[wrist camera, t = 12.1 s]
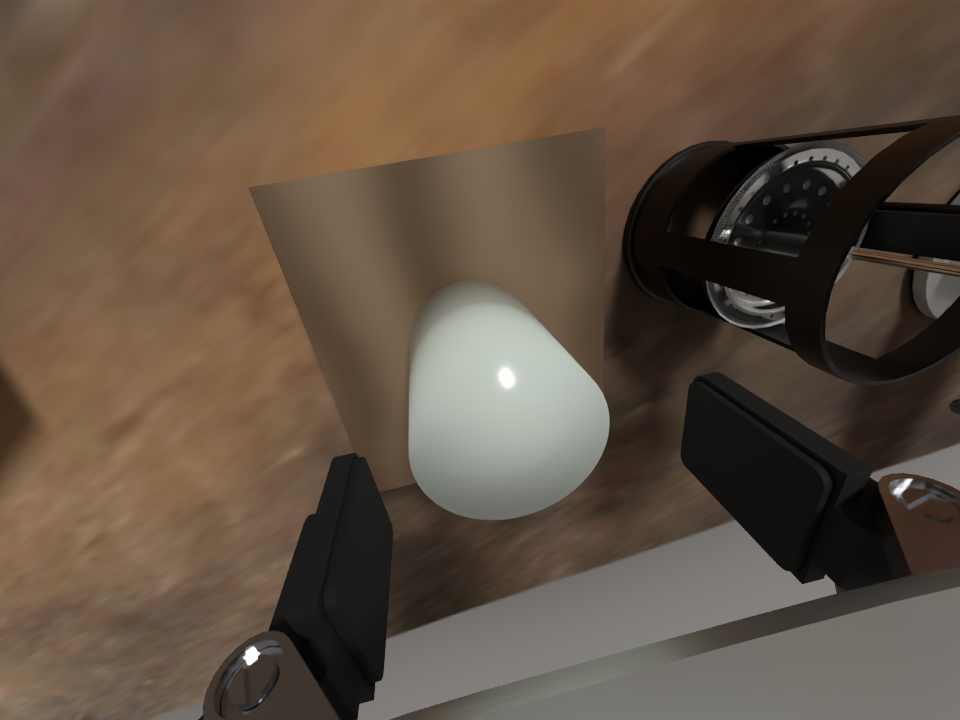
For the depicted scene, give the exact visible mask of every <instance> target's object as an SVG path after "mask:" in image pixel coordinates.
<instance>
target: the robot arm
mask: <svg viewBox="0 0 960 720" xmlns="http://www.w3.org/2000/svg"><path fill="white" fill-rule="evenodd" d="M950 205H960V193H959V194H958V195H957V196H956V198H955V199H954V200H953V201H952V202H951V203H950ZM918 259H920V260H927V261H934V262H940V263H947V264H954V265H960V262H959V261H952V260H945V259H937V258H930V257H923V256H919V257H918ZM912 290H913V297H914V301H915V303H916V305H917V307H918V309H919V310H920V311H921V312H922V313H923V314H924V315H926V316H928V317H930V318H933V319H938V318H939V317H940V316H941V315H942V314H943V313H944V312H945V311H946V310H947V309H948V308H949V307H950V306H951V305H952V304H953V303H954V301H955V300H956V299H957V298H958V297H959V296H960V277H954V276H949V275H943V274H937V273H931V272H925V271H919V270H914V274H913V284H912ZM681 459H682V462H683V464H684V465H685V466H686V468H687V469H688V470H689V471H690V472H691V473H692V474H693V475H694V476H695V477H696V478H697V479H698V480H699V481H700V482H701V484H702V485H703V486H704V487H705V488H706V489H707V490H708V491H709V492H710V493H711V494H712V495H713V496H714V497H715V498H716V499H717V500H718V502H719V503H720V504H721V505H722V506H723V507H724V508H725V509H726V510H727V511H728V512H729V513H730V514H731V515H732V516H733V517H734V519H735V520H736V521H737V522H738V523H739V524H740V525H741V526H742V527H743V528H744V529H745V530H746V531H747V532H748V533H749V534H750V535H751V537H752V538H754V540H755V541H756V542H757V543H758V544H759V545H760V546H761V547H762V548H763V549H764V550H765V551H766V552H767V553H768V555H769V556H770V557H772V559H773V560H774V561H775V562H776V563H777V564H778V565H779V566H780V567H781V568H783V569H784V570H786V571H790V572H791V573H792V574H793V575H794V576H795V577H796V578H797V579H798V580H799V581H800V582H801V583H802V584H805V583H808V582H812V581H816V580H820V579H823V578H824V576H825V574H826V575H827V576H828V577H829V578H830V579H831V580H832V581H833V582H834V583H835V587H836V591H837V594H834V595H830V596H827V597H823V598H819V599H815V600H812V601H808V602H804V603H800V604H797V605H793V606H790V607H786V608H782V609H778V610H774V611H771V612H767V613H763V614H759V615H756V616H752V617H748V618H745V619H741V620H737V621H733V622H730V623H726V624H722V625H719V626H715V627H711V628H708V629H704V630H700V631H697V632H693V633H689V634H686V635H682V636H678V637H675V638H671V639H667V640H664V641H660V642H656V643H653V644H649V645H646V646H642V647H638V648H635V649H631V650H627V651H624V652H620V653H616V654H613V655H609V656H605V657H602V658H598V659H595V660H591V661H588V662H584V663H581V664H577V665H573V666H570V667H566V668H562V669H559V670H555V671H552V672H549V673H545V674H541V675H537V676H534V677H530V678H527V679H523V680H520V681H517V682H512V683H509V684H506V685H502V686H498V687H495V688H491V689H488V690H484V691H481V692H477V693H474V694H471V695H467V696H464V697H461V698H457V699H454V700H451V701H447V702H445V703H441V704H437V705H434V706H431V707H428V708H424V709H421V710H418V711H415V712H411V713H408V714H405V715H402V716H400V717H397V718H394V719H391V720H960V491H959V490H957V489H955V488H953V487H951V486H949V485H947V484H944V483H942V482H939V481H936V480H934V479H930V478H926V477H923V476H919V475H913V474H905V473H898V474H889V475H886V476H883V477H882V478H881V479H880V481H879V482H876V481H874V480H873V479H872V478H870V475H871V473H872V471H873V469H872V468H871V467H869V466H868V465H866V464H864V463H863V462H861V461H860V460H858V459H856V458H855V457H853V456H852V455H850V454H848V453H847V452H845V451H844V450H842V449H841V448H839V447H837V446H836V445H834V444H833V443H831V442H829V441H828V440H826V439H825V438H823V437H821V436H820V435H818V434H817V433H815V432H814V431H812V430H810V429H809V428H807V427H806V426H804V425H802V424H801V423H799V422H798V421H796V420H794V419H793V418H791V417H790V416H788V415H787V414H785V413H783V412H782V411H780V410H779V409H777V408H775V407H774V406H772V405H771V404H769V403H767V402H766V401H764V400H763V399H761V398H760V397H758V396H756V395H755V394H753V393H752V392H750V391H748V390H747V389H745V388H744V387H742V386H741V385H739V384H737V383H736V382H734V381H733V380H731V379H729V378H728V377H726V376H725V375H723V374H721V373H719V372H715V373H710V374H706V375H701V376H697V377H695V379H694V381H693V383H691V384H690V385H689V390H688V398H687V406H686V414H685V422H684V430H683V438H682V446H681ZM392 542H393V530H392V524H391V521H390V519H389V516H388V514H387V511H386V509H385V506H384V503H383V501H382V498H381V496H380V493H379V491H378V488H377V486H376V483H375V480H374V478H373V475H372V473H371V470H370V468H369V465H368V463H367V460H366V458H365V457H358V455H357V454H356V453H352V454H347V455H343V456H338V457H334V458H333V460H332V462H331V465H330V469H329V472H328V475H327V478H326V482H325V485H324V488H323V492H322V495H321V498H320V501H319V505H318V508H317V511H316V514H312V515H309V516H308V517H307V518H306V520H305V523H304V525H303V528H302V531H301V534H300V537H299V540H298V543H297V546H296V549H295V552H294V555H293V558H292V561H291V564H290V567H289V570H288V573H287V577H286V580H285V583H284V586H283V589H282V592H281V595H280V598H279V601H278V604H277V607H276V610H275V613H274V616H273V619H272V622H271V625H270V628H269V631H268V632H262V633H260V634H258V635H256V636H254V637H251V638H249V639H248V640H247V641H245V642H244V643H243V644H241V645H240V646H239V647H237V648H236V649H235V650H234V651H233V652H232V653H231V654H230V655H229V656H228V657H227V658H226V659H225V660H224V662H223V663H222V665H221V666H220V667H219V669H218V670H217V672H216V673H215V675H214V676H213V678H212V680H211V683H210V685H209V687H208V689H207V691H206V695H205V699H204V704H203V716H202V717H201V718H200V719H199V720H357V719H358V710H359V704H360V703H364V702H368V701H372V700H374V692H375V682H377V681H380V680H382V677H383V671H384V659H385V645H386V630H387V615H388V601H389V586H390V571H391V556H392Z"/></svg>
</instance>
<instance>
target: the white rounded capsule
mask: <svg viewBox="0 0 960 720" xmlns="http://www.w3.org/2000/svg"><path fill="white" fill-rule="evenodd" d="M609 425H610V422H609V411H608V406H607V403H606V400H605V398H604V395H603V393H602V391H601V390H600V388H599V387H598V385H597V384H596V383H595V381H594V380H593V379H592V378H591V377H590V376H589V375H588V374H587V373H586V371H585V370H584V369H583V368H582V367H581V366H580V365H579V364H578V363H577V362H576V361H575V360H574V358H573V357H572V356H571V355H570V354H569V353H568V352H567V351H566V350H565V349H564V348H563V347H562V345H561V344H560V343H559V342H558V341H557V340H556V339H555V338H554V337H553V336H552V335H551V334H550V333H549V331H548V330H547V329H546V328H545V327H544V326H543V325H542V324H541V323H540V322H539V321H538V320H537V318H536V317H535V316H534V315H533V314H532V313H531V312H530V311H529V310H528V309H527V308H526V307H525V305H524V304H523V303H522V302H521V301H520V300H519V299H518V298H517V297H516V296H515V295H514V294H513V293H512V292H510V291H509V290H507V289H506V288H504V287H503V286H500V285H498V284H496V283H492V282H489V281H484V280H464V281H459V282H455V283H452V284H450V285H447V286H445V287H443V288H441V289H439V290H438V291H436V292H435V293H434V294H432V295H431V296H430V297H429V298H428V299H427V300H426V301H425V302H424V303H423V304H422V306H421V307H420V308H419V310H418V312H417V313H416V315H415V317H414V320H413V322H412V326H411V329H410V337H409V446H408V448H409V462H410V467H411V470H412V473H413V476H414V478H415V480H416V482H417V483H418V485H419V487H420V488H421V490H422V491H423V492H424V493H425V494H426V495H427V496H428V497H429V498H430V499H431V500H432V501H433V502H435V503H436V504H437V505H439V506H441V507H442V508H444V509H446V510H448V511H450V512H452V513H454V514H457V515H460V516H464V517H468V518H473V519H480V520H504V519H512V518H517V517H522V516H525V515H529V514H532V513H535V512H537V511H540V510H542V509H545V508H547V507H549V506H551V505H553V504H555V503H556V502H558V501H560V500H561V499H563V498H564V497H566V496H567V495H568V494H570V493H571V492H572V491H574V490H575V489H576V488H577V487H578V486H579V485H580V484H581V483H582V482H583V481H584V480H585V479H586V478H587V477H588V476H589V475H590V473H591V472H592V471H593V469H594V468H595V466H596V465H597V463H598V461H599V460H600V458H601V456H602V454H603V451H604V449H605V446H606V443H607V439H608V435H609Z"/></svg>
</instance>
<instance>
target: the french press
mask: <svg viewBox="0 0 960 720" xmlns="http://www.w3.org/2000/svg"><path fill="white" fill-rule="evenodd" d="M908 131H912V132H910V133H908V134H906V135H904V136H902V137H901V138H899V139H898V140H896V141H895V142H894V143H892V144H891V145H889V146H888V147H887V148H885V149H884V150H882V151H881V152H879V153H878V154H877V155H875V156H874V157H873V158H872V159H871V160H870V161H869V162H868V163H867V164H866V163H865V161H864V160H863V159H862V157H861V156H860V155H859V153H858V152H857V151H856V150H854V149H853V148H851V147H850V146H848V145H847V144H845V143H841V142H837V141H834V140H830V139H840V138H850V137H859V136H869V135H879V134H889V133H899V132H908ZM958 137H960V115H958V116H949V117H941V118H933V119H925V120H917V121H908V122H900V123H892V124H884V125H876V126H867V127H859V128H851V129H843V130H835V131H826V132H818V133H810V134H802V135H794V136H785V137H777V138H769V139H761V140H753V141H744V142H736V143H732V142H728V141H707V142H703V143H700V144H696V145H692V146H690V147H688V148H686V149H684V150H682V151H680V152H678V153H676V154H675V155H673V156H672V157H671V158H670V159H668V160H667V161H666V162H664V163H663V164H662V165H661V166H660V167H659V168H658V169H657V170H656V171H655V172H654V173H653V174H652V175H651V176H650V177H649V179H648V180H647V181H646V183H645V184H644V186H643V187H642V189H641V190H640V192H639V193H638V195H637V197H636V200H635V202H634V204H633V206H632V208H631V210H630V214H629V217H628V220H627V224H626V229H625V236H624V256H625V260H626V264H627V268H628V271H629V273H630V275H631V277H632V279H633V281H634V282H635V283H636V285H637V286H638V287H639V288H640V289H641V291H643V292H644V293H646V294H647V295H649V296H650V297H652V298H654V299H657V300H659V301H662V302H665V303H674V304H676V305H678V306H680V307H683V308H685V309H687V310H690V311H693V312H695V313H701V314H709V315H711V316H714V317H716V318H718V319H721V320H723V321H725V322H727V323H730V324H732V325H734V326H737V327H739V328H741V329H744V330H746V331H748V332H750V333H753V334H755V335H757V336H760V337H762V338H764V339H767V340H769V341H771V342H773V343H776V344H778V345H780V346H783V347H785V348H787V349H790V350H792V351H794V352H796V353H797V355H798V356H799V357H800V358H802V359H803V360H804V361H805V362H807V363H808V364H809V365H811V366H814V367H816V368H818V369H820V370H823V371H825V372H827V373H829V374H831V375H834V376H836V377H838V378H840V379H842V380H845V381H848V382H851V383H853V384H856V385H864V386H879V385H886V384H893V383H896V382H899V381H902V380H905V379H908V378H911V377H914V376H916V375H918V374H920V373H922V372H925V371H927V370H929V369H931V368H933V367H935V366H936V365H938V364H940V363H941V362H943V361H945V360H946V359H948V358H949V357H951V356H953V355H954V354H956V353H957V352H958V351H960V296H959V297H958V298H957V299H956V300H955V301H954V303H953V304H952V305H951V306H950V307H949V308H948V309H947V310H946V311H945V312H944V313H943V314H942V315H941V316H940V317H939V318H938V319H936V320H935V321H934V322H933V323H932V324H931V325H930V326H928V327H927V328H926V329H925V330H923V331H922V332H921V333H920V334H918V335H917V336H916V337H914V338H913V339H911V340H910V341H908V342H907V343H905V344H904V345H902V346H900V347H899V348H897V349H896V350H894V351H892V352H890V353H888V354H885V355H883V356H881V357H879V358H877V359H874V358H872V357H869V356H866V355H864V354H861V353H858V352H856V351H853V350H850V349H848V348H845V347H842V346H840V345H837V344H834V343H832V342H829V341H826V340H825V320H826V312H827V308H828V303H829V299H830V295H831V291H832V289H833V286H834V284H835V283H836V282H837V281H838V280H839V278H840V277H841V276H842V274H843V273H844V272H845V270H846V269H847V267H848V266H849V265H850V263H851V261H852V259H855V260H861V261H867V262H872V263H878V264H884V265H890V266H896V267H902V268H908V269H913V270H919V271H925V272H931V273H937V274H943V275H949V276H954V277H960V265H954V264H947V263H940V262H934V261H927V260H920V259H914V258H907V257H900V256H894V255H887V254H880V253H873V252H867V251H860V250H858V249H859V247H860V248H867V249H874V250H881V251H888V252H895V253H902V254H909V255H916V256H923V257H930V258H937V259H945V260H952V261H959V262H960V205H949V204H924V203H899V202H884V201H885V200H886V199H887V198H888V197H889V196H890V195H891V194H892V192H893V191H894V190H895V189H896V188H897V187H898V186H899V185H900V184H901V182H902V181H904V180H905V179H906V178H907V177H908V176H909V175H910V174H911V173H913V172H914V171H915V170H916V169H917V168H918V167H919V166H920V165H922V164H923V163H924V162H925V161H926V160H927V159H928V158H929V157H931V156H932V155H934V154H935V153H937V152H938V151H939V150H941V149H942V148H944V147H945V146H947V145H948V144H950V143H951V142H952V141H954V140H955V139H957V138H958ZM801 142H806V143H802V144H799V145H796V146H794V147H791V148H789V147H788V146H786V145H784V144H791V143H801ZM714 166H716V167H721V168H725V169H727V170H729V171H731V172H732V173H734V174H735V175H736V176H737V177H738V178H739V179H740V180H741V182H740V183H739V184H738V185H737V186H736V187H735V188H734V190H733V191H732V192H731V194H730V195H729V196H728V197H727V199H726V200H725V201H724V203H723V204H722V206H721V208H720V209H719V211H718V213H717V214H716V216H715V218H714V219H713V221H712V224H711V226H710V228H709V230H708V232H707V235H706V238H705V239H701V238H695V237H690V236H685V235H680V234H674V233H669V232H666V231H667V228H668V225H669V222H670V220H671V217H672V214H673V212H674V210H675V209H676V207H677V205H678V203H679V201H680V199H681V197H682V196H683V195H684V193H685V192H686V190H687V189H688V188H689V186H690V185H691V184H692V182H693V181H694V180H695V179H696V178H697V177H698V176H699V175H700V174H701V173H702V172H703V171H704V170H705V169H706V168H707V167H714ZM664 267H666V268H669V269H672V270H676V271H679V272H682V273H685V274H688V275H691V276H694V277H697V278H700V279H701V280H700V281H698V282H694V283H691V284H682V285H680V284H672V283H670V282H667V280H666V277H665V272H664ZM783 322H785V325H784V324H781V323H783ZM949 406H950V409H951V411H952V412H954V413H957V414H959V415H960V399H958V400H954V401H953V402H952V403H951V404H949Z"/></svg>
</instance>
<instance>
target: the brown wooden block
mask: <svg viewBox="0 0 960 720" xmlns="http://www.w3.org/2000/svg"><path fill="white" fill-rule="evenodd" d="M249 190H250V193H251V195H252V198H253V200H254V202H255V205H256V207H257V210H258V212H259V215H260V217H261V220H262V222H263V225H264V227H265V230H266V232H267V235H268V237H269V240H270V242H271V244H272V247H273V249H274V252H275V254H276V257H277V259H278V262H279V264H280V267H281V269H282V272H283V274H284V277H285V279H286V281H287V284H288V286H289V289H290V291H291V294H292V296H293V299H294V301H295V304H296V306H297V309H298V311H299V314H300V316H301V318H302V321H303V323H304V326H305V328H306V331H307V333H308V336H309V338H310V341H311V343H312V346H313V348H314V351H315V353H316V355H317V358H318V360H319V363H320V365H321V368H322V370H323V373H324V375H325V378H326V380H327V383H328V385H329V388H330V390H331V392H332V395H333V397H334V400H335V402H336V405H337V407H338V410H339V412H340V415H341V417H342V420H343V422H344V425H345V427H346V430H347V432H348V434H349V437H350V439H351V442H352V444H353V447H354V449H355V452H356V454H357V455H358V457H365V458H366V460H367V463H368V465H369V468H370V470H371V473H372V475H373V478H374V480H375V483H376V486H377V488H378V491H379V492H383V491H387V490H391V489H395V488H399V487H403V486H407V485H411V484H415V483H417V482H416V480H415V478H414V476H413V473H412V470H411V467H410V462H409V448H408V446H409V337H410V329H411V326H412V322H413V320H414V317H415V315H416V313H417V312H418V310H419V308H420V307H421V306H422V304H423V303H424V302H425V301H426V300H427V299H428V298H429V297H430V296H431V295H432V294H434V293H435V292H436V291H438V290H439V289H441V288H443V287H445V286H447V285H450V284H452V283H455V282H459V281H464V280H484V281H489V282H492V283H496V284H498V285H500V286H503V287H504V288H506V289H507V290H509V291H510V292H512V293H513V294H514V295H515V296H516V297H517V298H518V299H519V300H520V301H521V302H522V303H523V304H524V305H525V307H526V308H527V309H528V310H529V311H530V312H531V313H532V314H533V315H534V316H535V317H536V318H537V320H538V321H539V322H540V323H541V324H542V325H543V326H544V327H545V328H546V329H547V330H548V331H549V333H550V334H551V335H552V336H553V337H554V338H555V339H556V340H557V341H558V342H559V343H560V344H561V345H562V347H563V348H564V349H565V350H566V351H567V352H568V353H569V354H570V355H571V356H572V357H573V358H574V360H575V361H576V362H577V363H578V364H579V365H580V366H581V367H582V368H583V369H584V370H585V371H586V373H587V374H588V375H589V376H590V377H591V378H592V379H593V380H594V381H595V383H596V384H597V385H598V387H599V388H600V390H601V391H602V393H603V395H604V128H599V129H593V130H587V131H581V132H575V133H569V134H563V135H557V136H551V137H545V138H540V139H534V140H528V141H522V142H516V143H510V144H504V145H498V146H492V147H486V148H480V149H474V150H469V151H463V152H457V153H451V154H445V155H439V156H433V157H427V158H421V159H415V160H409V161H403V162H398V163H392V164H386V165H380V166H374V167H368V168H362V169H356V170H350V171H344V172H338V173H332V174H327V175H321V176H315V177H309V178H303V179H297V180H291V181H285V182H279V183H273V184H267V185H261V186H256V187H250V188H249Z"/></svg>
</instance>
